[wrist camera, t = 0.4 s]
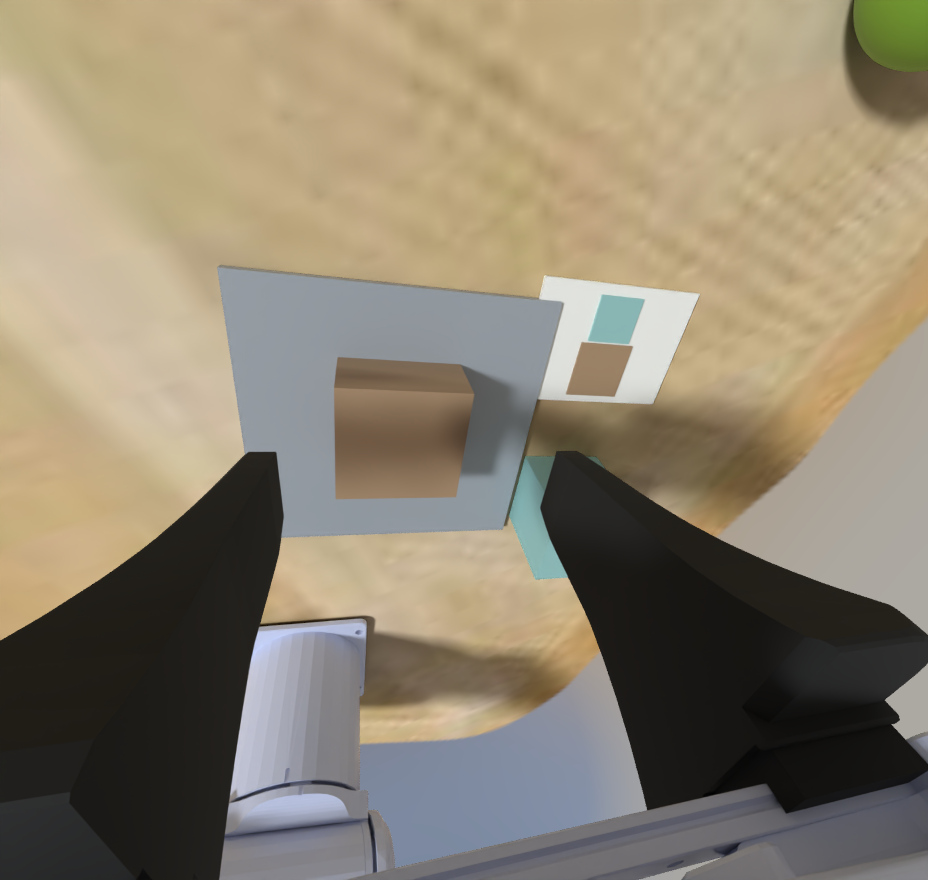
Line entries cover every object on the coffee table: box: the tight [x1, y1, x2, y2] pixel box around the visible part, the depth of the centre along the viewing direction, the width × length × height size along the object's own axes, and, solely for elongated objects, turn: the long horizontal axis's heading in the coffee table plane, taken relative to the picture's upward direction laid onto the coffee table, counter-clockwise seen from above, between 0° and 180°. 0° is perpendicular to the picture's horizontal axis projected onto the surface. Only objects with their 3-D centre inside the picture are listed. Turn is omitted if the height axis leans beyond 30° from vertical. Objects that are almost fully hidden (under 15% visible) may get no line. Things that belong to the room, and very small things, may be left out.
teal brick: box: [509, 456, 605, 580], centre depth 24 cm, size 4×4×5 cm
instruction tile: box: [537, 275, 700, 404], centre depth 21 cm, size 6×8×1 cm
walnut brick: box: [334, 357, 474, 499], centre depth 20 cm, size 6×6×3 cm
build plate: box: [217, 265, 562, 538], centre depth 22 cm, size 14×14×1 cm
